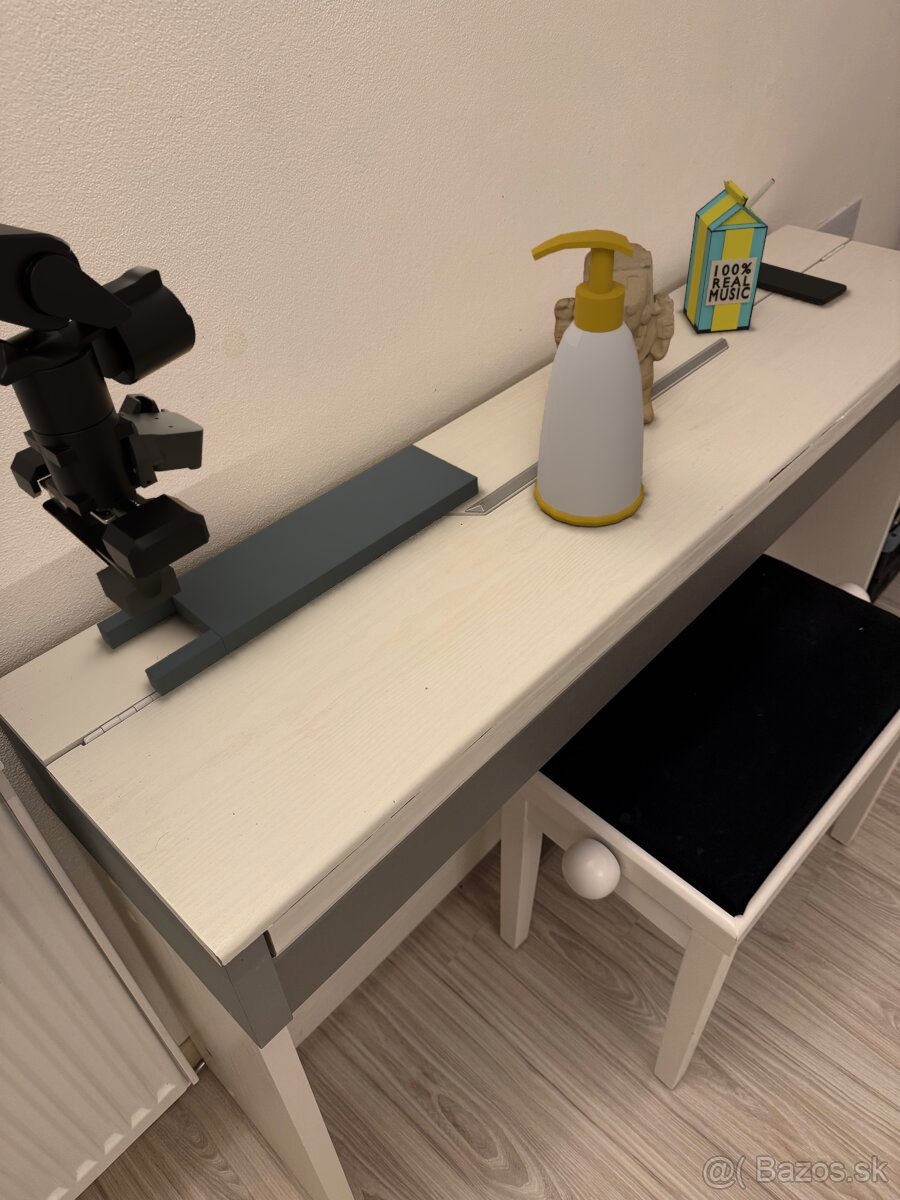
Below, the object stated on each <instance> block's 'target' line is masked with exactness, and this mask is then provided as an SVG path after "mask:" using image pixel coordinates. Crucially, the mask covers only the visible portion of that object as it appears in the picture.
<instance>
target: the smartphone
mask: <svg viewBox="0 0 900 1200" xmlns="http://www.w3.org/2000/svg"><path fill="white" fill-rule="evenodd" d="M757 288H761V289H765V290H768V291H772V292H775V293H779V294H782V295H786V296H789V297H792V298H796V299H799V300H803V301H806V302H810V303H813V304H817V305H825V304H826V303H828V302H830V301H831V300H833V299H835V298H836V297H839V296H840V295H841V294H843V293H845V292H846V291H847V289H848V285H846V284H844V283H840V282H838V281H833V280H829V279H826V278H822V277H818V276H815V275H810V274H807V273H804V272H800V271H796V270H792V269H789V268H786V267H781V266H778V265H774V264H771V263H766V262H763V261H762V263H761V268H760V273H759V279H758V284H757Z"/></svg>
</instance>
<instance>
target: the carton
mask: <svg viewBox="0 0 900 1200" xmlns="http://www.w3.org/2000/svg"><path fill="white" fill-rule="evenodd" d="M775 183H776V180H775V179H774V178H773V177H770V179H769V180H768V181H767V182H766V183H765V184H764V185H763V186H762V187H761V188H760V189H759V190H758V191H757V193H755V194H754V195H753V196H752V197H751V199H750V200H749V196H748V195H747V194H746V192H744V191H743V190H742V189H741V188H740V187H739V186H738V185H737V184H736V183H735V182H734V181H733V180H732V179H729V180H727V181H726V180H723V185H724V189H723V190H722V191H720V192H719V193H718V194H717V195H716V196H714V197H713V198H712V199H710V200H709V201H708V202H706V203H705V204H704V205H703V206H701V208H699V209H698V210H697V211H695V217H694V223H693V231H692V237H691V238H692V239H691V247H690V254H689V260H688V261H689V262H688V269H687V278H686V285H685V293H684V301H683V308H682V313H683V314H684V316H685V318H686V319H687V321H688V323H689V324H690V326H691V327H692V328H693V330H694V331H695V333H696V334H697V335H698V334H710V333H722V332H734V331H746V330H750V326H751V321H752V317H753V316H752V315H753V310H754V306H755V300H756V295H757V290H758V286H757V284H758V279H759V273H760V268H761V263H762V262H763V258H764V257H763V256H764V252H765V245H766V241H767V236H768V229H769V226H768V224H767V223H766V222H765V221H764V220H762V219H761V218H760V217H759V216H758V215H757V214H756V212H755V211H753V210H752V209H751V208H753V206H754V205H755V204H757V202H758V201H759V200H760V199H761V198H762V197H764V195H765V194H766V193H767V191H769V189H770V188H772V186H773V185H774V184H775ZM748 200H749V201H748Z"/></svg>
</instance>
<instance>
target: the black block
mask: <svg viewBox="0 0 900 1200" xmlns="http://www.w3.org/2000/svg"><path fill="white" fill-rule="evenodd" d="M95 575H96V577H97V579H98V581H99V584H100V586H101V589H102V591H103V593H104V595H105V597H106V598H107V599H109V600H110V601H111V602H112V603H113V604H115V605H116V606H117V607H118V608H120V610H123V611H124V612H126V613H127V614H128V615H129V616H130V617H132V618H133V619H134V620H135V619H136V618H138V617H140V616H141V615H143V614H145V613H146V612H148V611H150V610H151V609H153V608H155V607H156V606H158V605H160V604H161V603H163V602H165V601H166V600H168V599H170V598H171V597H173V596H175V595H176V594H178V593H179V592H181V588H180V585H179V583H178V580H177V578H178V577H177V574H176V571H175V569H174V568H173V567H172V566H171V564H170V565H168V566H166V567H165V568H163V569H162V583H161V593H160V594H159V595H157V596H155V597H154V598H152V599H149V598H147V597H146V596H145V595H144V594H143V593H142V592H141V591H140V590H138V589H137V588H136V587H135V586H134V585H133V584H132V583H131V582H130V581H129V580H128V579H127V578H126V577H125V576H123V575H122V574H121V573H120V572H119V571H118V570H117V569H116V568H115V567H114V566H113V565H110V566H108V565H107V566H106V567H104V568H102V569H101V570H99V571H97V572H96V573H95Z"/></svg>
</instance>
